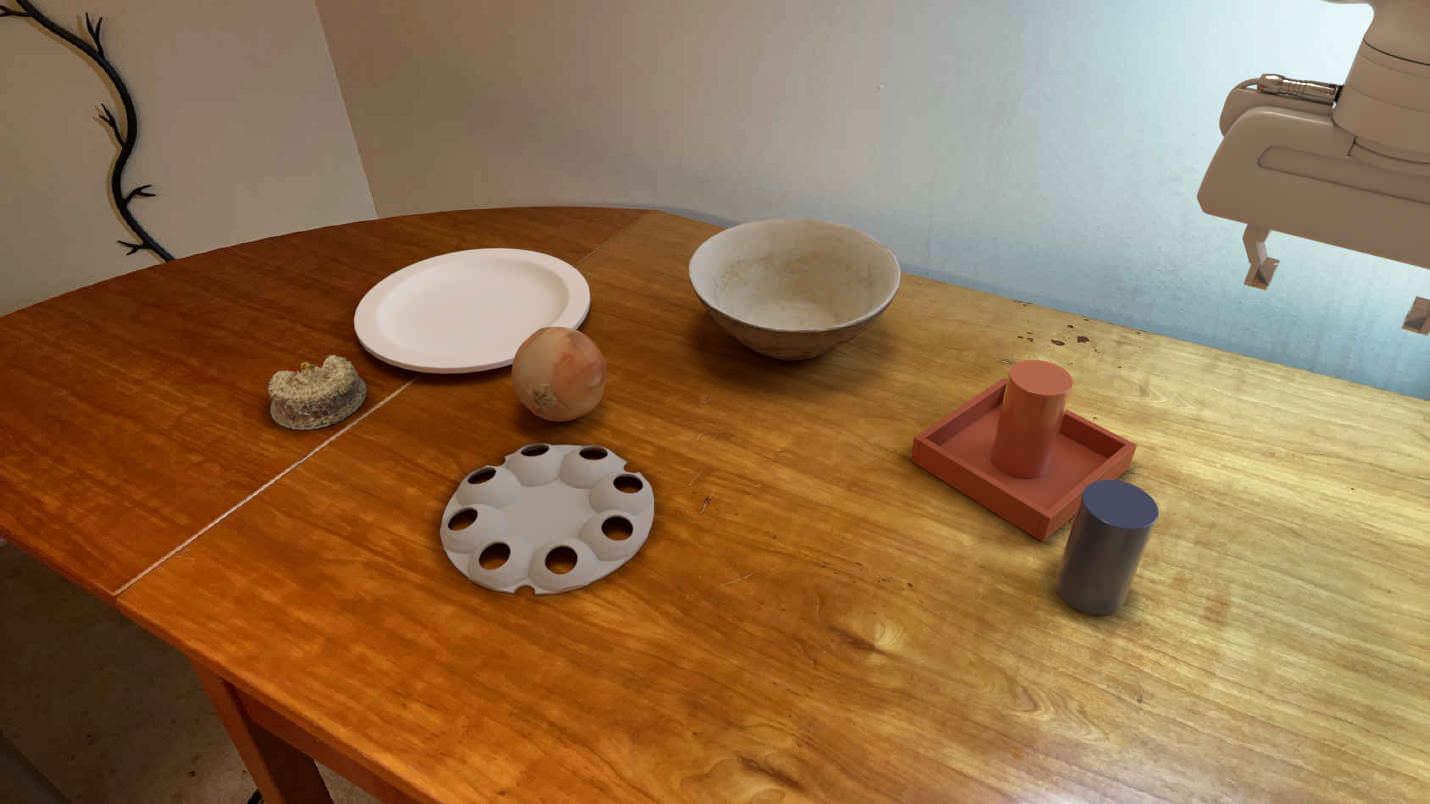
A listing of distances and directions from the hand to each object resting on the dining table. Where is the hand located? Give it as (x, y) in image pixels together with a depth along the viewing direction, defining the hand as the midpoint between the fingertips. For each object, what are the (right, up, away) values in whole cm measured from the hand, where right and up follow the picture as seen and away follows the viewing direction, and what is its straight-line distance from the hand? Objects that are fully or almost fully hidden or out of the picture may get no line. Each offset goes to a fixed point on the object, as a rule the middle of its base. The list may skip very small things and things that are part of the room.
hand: (1332, 306), depth 61 cm
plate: (-71, +4, +51) cm, 87 cm away
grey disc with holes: (-57, -17, +23) cm, 64 cm away
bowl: (-33, +1, +47) cm, 57 cm away
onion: (-58, -8, +36) cm, 68 cm away
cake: (-84, -7, +38) cm, 93 cm away
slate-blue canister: (-10, -22, +15) cm, 29 cm away
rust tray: (-12, -13, +28) cm, 33 cm away
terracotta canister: (-12, -12, +28) cm, 33 cm away
